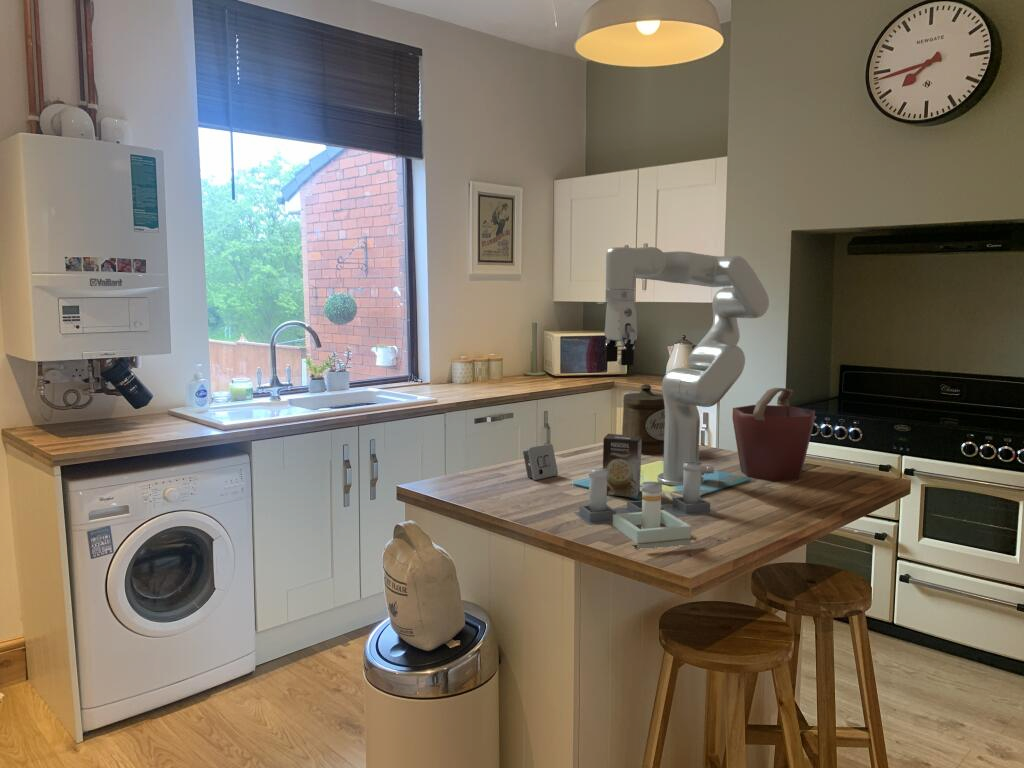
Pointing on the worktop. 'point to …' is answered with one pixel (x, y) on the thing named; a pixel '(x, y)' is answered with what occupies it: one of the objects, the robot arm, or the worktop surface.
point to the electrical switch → (540, 462)
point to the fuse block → (636, 506)
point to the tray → (653, 530)
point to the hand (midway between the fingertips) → (619, 363)
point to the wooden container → (645, 419)
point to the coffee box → (622, 464)
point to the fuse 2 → (691, 482)
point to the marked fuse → (651, 504)
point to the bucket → (772, 437)
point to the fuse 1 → (597, 489)
